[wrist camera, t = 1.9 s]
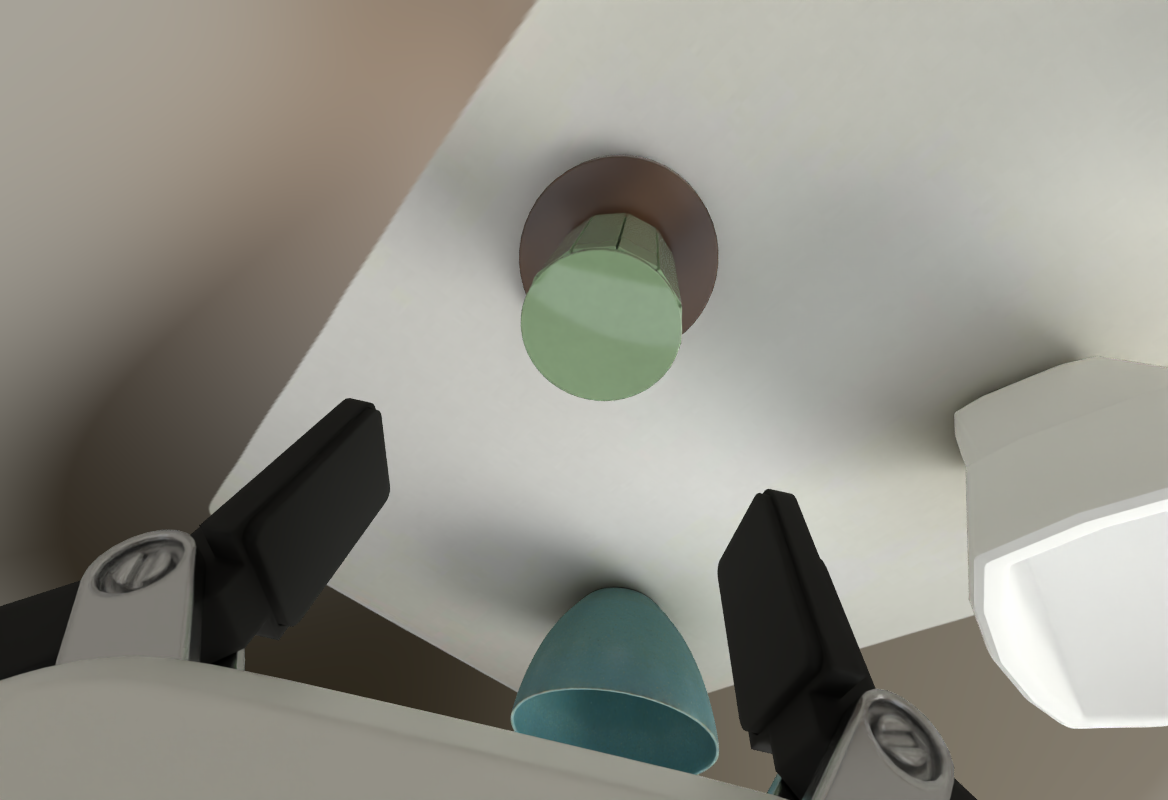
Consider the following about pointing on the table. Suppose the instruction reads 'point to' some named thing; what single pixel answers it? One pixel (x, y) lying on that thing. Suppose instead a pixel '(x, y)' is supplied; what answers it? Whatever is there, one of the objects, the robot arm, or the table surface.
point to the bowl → (1073, 538)
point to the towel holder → (632, 191)
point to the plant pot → (619, 685)
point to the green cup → (605, 310)
